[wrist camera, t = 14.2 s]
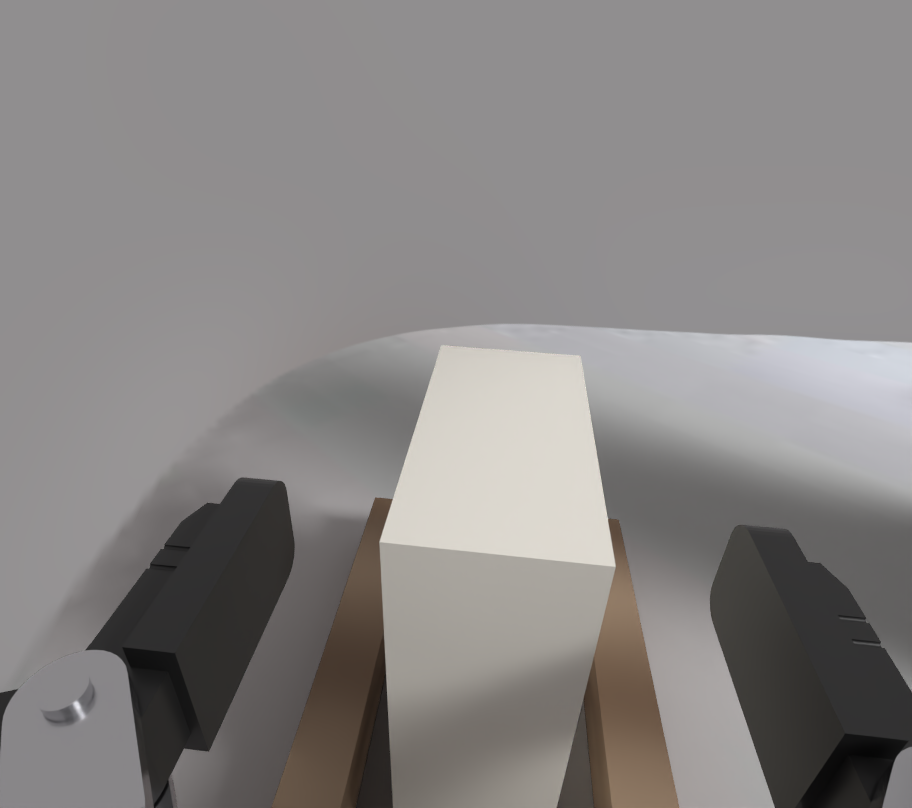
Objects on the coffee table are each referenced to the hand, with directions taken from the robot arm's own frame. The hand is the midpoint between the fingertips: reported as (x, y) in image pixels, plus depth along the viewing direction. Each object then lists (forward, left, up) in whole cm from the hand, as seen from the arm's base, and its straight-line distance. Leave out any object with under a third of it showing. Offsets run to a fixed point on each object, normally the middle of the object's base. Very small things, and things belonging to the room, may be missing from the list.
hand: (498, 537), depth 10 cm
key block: (-1, -1, -9) cm, 9 cm away
